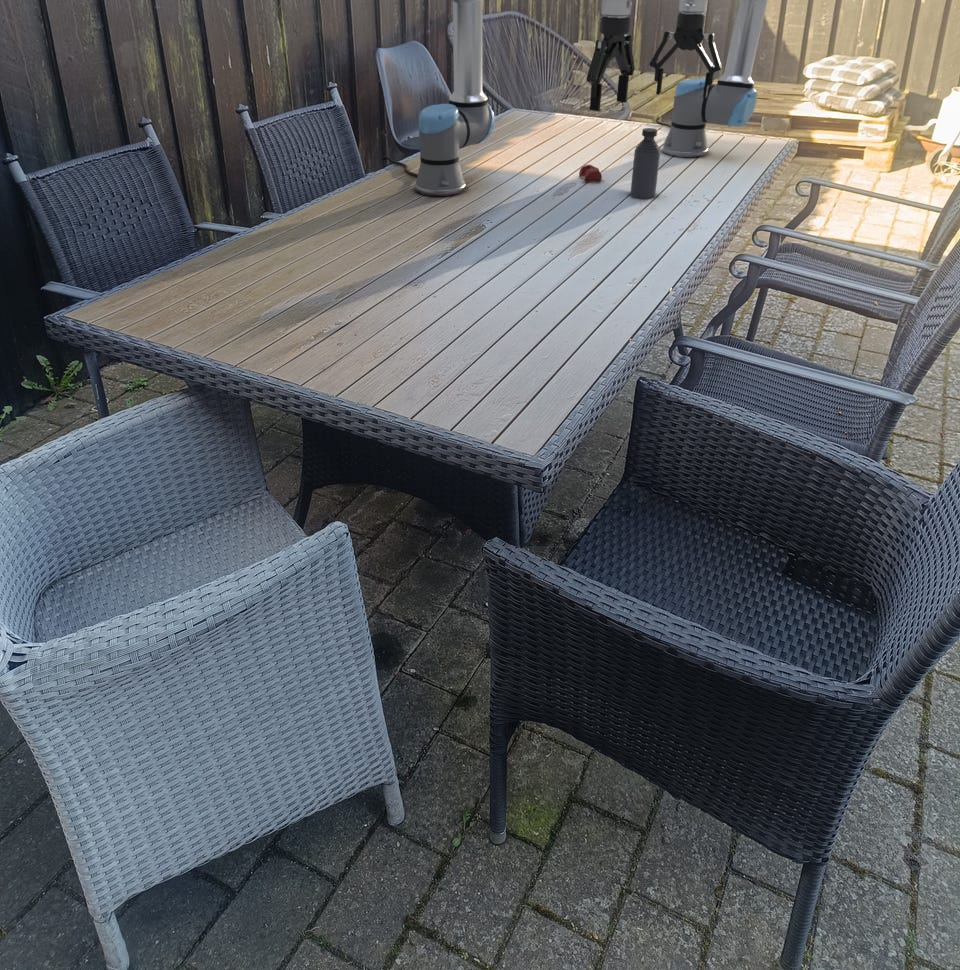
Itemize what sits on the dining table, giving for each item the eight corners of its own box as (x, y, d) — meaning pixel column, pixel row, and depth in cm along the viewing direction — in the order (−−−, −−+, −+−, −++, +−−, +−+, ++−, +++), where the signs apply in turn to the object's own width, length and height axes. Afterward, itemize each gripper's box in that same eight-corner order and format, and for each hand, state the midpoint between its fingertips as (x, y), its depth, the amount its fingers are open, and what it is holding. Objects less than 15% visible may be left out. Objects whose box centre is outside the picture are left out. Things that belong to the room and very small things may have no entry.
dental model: (594, 161, 269) (603, 168, 262) (593, 174, 271) (602, 181, 265) (577, 162, 268) (586, 169, 261) (577, 176, 270) (586, 183, 264)
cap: (644, 133, 246) (644, 127, 246) (658, 134, 245) (659, 128, 244) (640, 136, 243) (640, 130, 242) (654, 137, 242) (655, 132, 241)
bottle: (634, 190, 258) (640, 127, 248) (658, 193, 256) (665, 129, 245) (627, 196, 253) (633, 132, 242) (651, 200, 250) (658, 135, 240)
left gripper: (602, 22, 204) (595, 116, 216) (653, 12, 219) (644, 100, 232) (576, 19, 207) (570, 112, 220) (628, 10, 223) (620, 96, 236)
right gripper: (644, 11, 234) (636, 94, 246) (735, 16, 226) (722, 101, 238) (650, 8, 239) (642, 89, 252) (740, 12, 231) (727, 96, 244)
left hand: (608, 106), depth 226 cm, fingers open, 13 cm apart
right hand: (681, 95), depth 245 cm, fingers open, 13 cm apart
